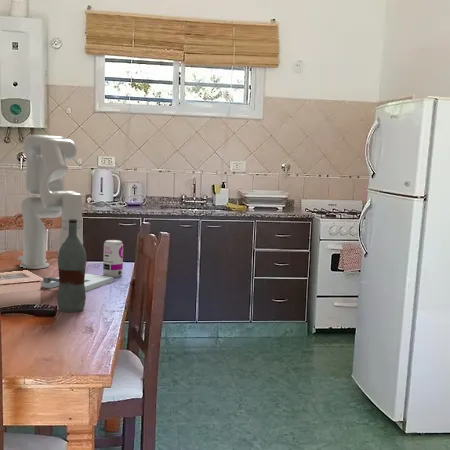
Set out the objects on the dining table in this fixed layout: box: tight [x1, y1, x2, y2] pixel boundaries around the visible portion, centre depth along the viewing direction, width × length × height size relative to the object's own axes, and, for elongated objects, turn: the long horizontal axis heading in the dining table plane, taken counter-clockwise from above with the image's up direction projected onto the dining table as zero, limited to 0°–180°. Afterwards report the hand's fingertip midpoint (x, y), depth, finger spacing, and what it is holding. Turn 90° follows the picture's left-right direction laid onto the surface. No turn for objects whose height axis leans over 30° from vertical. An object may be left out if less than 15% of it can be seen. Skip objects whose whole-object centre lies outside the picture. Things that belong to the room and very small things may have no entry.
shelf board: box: [41, 272, 114, 293], centre depth 220 cm, size 18×22×4 cm
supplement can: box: [102, 239, 124, 278], centre depth 240 cm, size 8×8×15 cm
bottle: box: [56, 219, 87, 313], centre depth 184 cm, size 9×9×30 cm
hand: (71, 270), depth 215 cm, fingers closed on beer glass, 6 cm apart
